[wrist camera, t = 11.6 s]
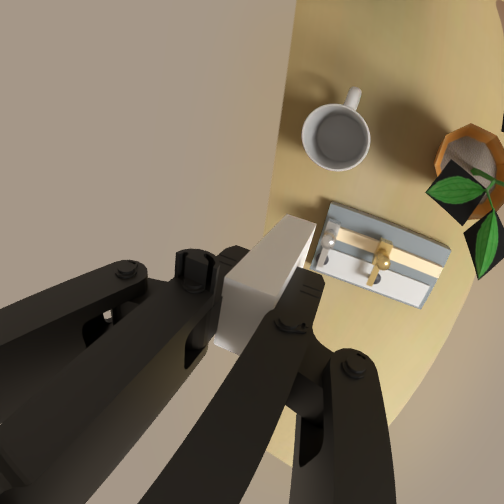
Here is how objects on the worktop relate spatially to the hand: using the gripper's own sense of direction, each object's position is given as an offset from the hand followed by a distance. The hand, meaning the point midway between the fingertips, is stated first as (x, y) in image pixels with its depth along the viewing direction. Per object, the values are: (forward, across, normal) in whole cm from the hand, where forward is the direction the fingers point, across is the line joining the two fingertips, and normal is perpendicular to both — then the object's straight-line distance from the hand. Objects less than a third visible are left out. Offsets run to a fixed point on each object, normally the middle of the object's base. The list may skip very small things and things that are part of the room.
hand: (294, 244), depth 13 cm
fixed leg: (+30, +1, -11) cm, 31 cm away
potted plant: (+33, +18, +8) cm, 38 cm away
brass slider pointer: (+29, +10, -11) cm, 33 cm away
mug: (+33, -1, +7) cm, 33 cm away
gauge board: (+32, +11, -11) cm, 36 cm away
